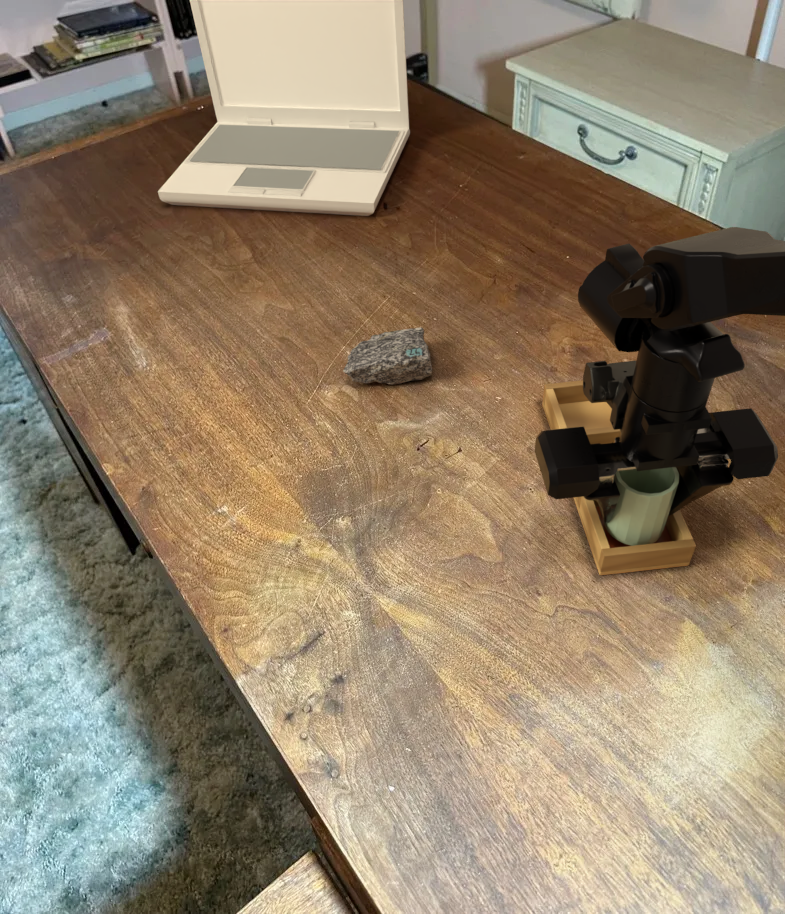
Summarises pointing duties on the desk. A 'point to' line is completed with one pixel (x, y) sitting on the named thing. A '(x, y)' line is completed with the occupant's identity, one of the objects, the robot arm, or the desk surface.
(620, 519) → the cup
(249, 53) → the laptop
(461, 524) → the desk surface
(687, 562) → the rack
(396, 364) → the rock
